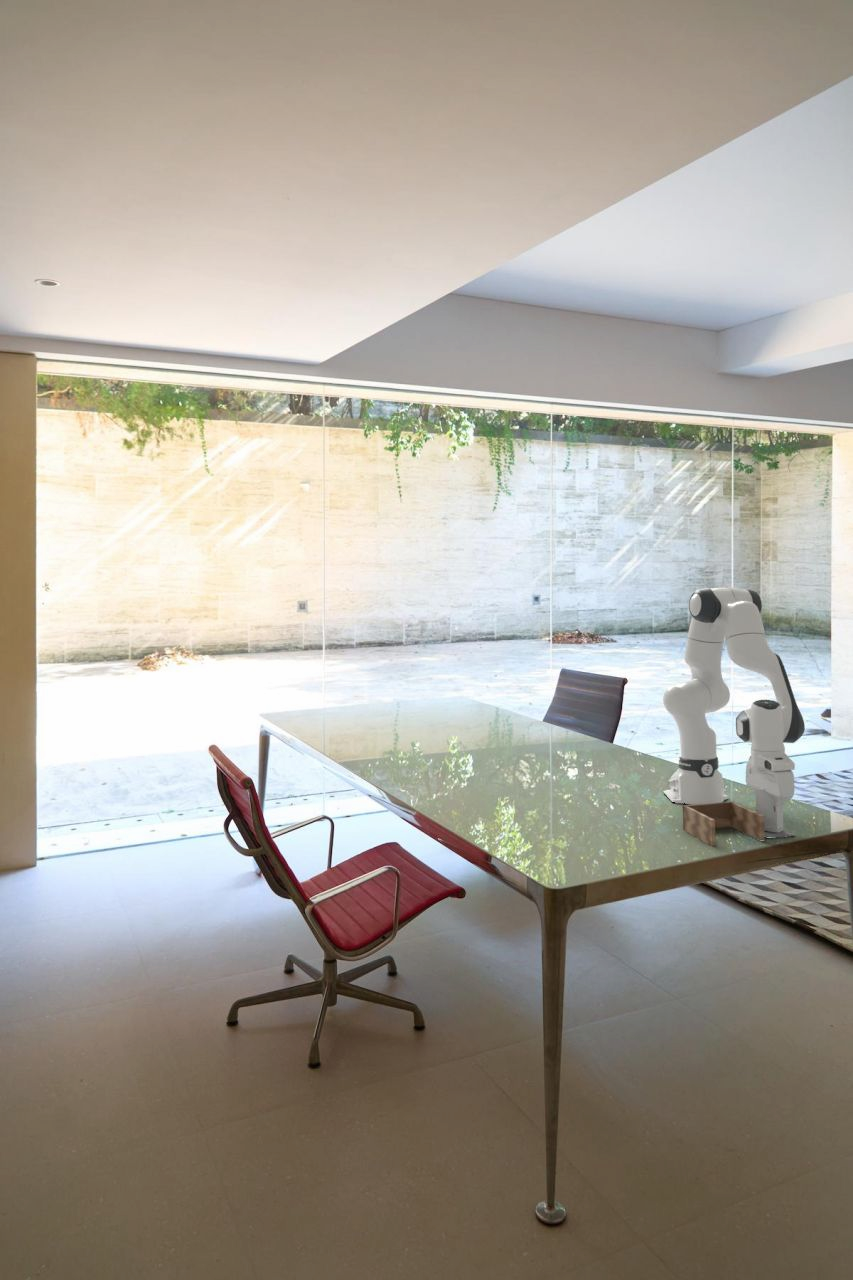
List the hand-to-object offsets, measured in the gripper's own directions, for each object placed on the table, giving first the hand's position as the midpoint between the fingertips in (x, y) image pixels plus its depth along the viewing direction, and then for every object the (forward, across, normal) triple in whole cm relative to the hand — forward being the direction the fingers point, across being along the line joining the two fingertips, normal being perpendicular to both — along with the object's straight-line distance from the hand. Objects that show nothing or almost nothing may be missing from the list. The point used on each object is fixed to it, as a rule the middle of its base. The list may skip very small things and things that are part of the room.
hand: (769, 808), depth 258 cm
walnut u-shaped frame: (+7, -1, -14) cm, 15 cm away
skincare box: (+6, 0, 0) cm, 6 cm away
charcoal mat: (+7, 0, 0) cm, 7 cm away
